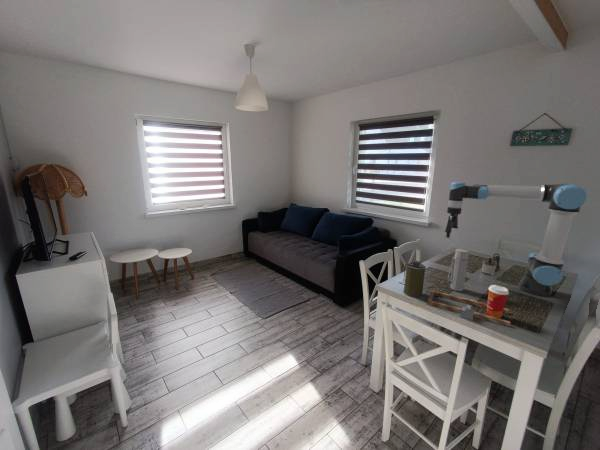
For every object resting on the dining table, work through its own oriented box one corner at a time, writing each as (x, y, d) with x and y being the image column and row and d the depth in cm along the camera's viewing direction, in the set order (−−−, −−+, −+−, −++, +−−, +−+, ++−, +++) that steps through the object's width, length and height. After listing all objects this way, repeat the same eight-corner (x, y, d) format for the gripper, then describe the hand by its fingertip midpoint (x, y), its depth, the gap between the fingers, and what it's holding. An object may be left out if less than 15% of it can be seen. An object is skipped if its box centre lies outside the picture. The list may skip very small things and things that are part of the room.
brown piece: (507, 312, 136) (508, 308, 136) (509, 327, 124) (510, 322, 124) (432, 293, 156) (432, 289, 155) (427, 304, 144) (427, 299, 143)
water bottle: (461, 287, 164) (467, 248, 159) (465, 293, 157) (472, 252, 151) (444, 285, 167) (450, 247, 161) (448, 290, 159) (454, 251, 154)
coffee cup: (484, 309, 139) (489, 282, 136) (504, 314, 134) (509, 287, 131) (482, 316, 133) (487, 288, 129) (503, 322, 128) (509, 293, 124)
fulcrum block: (473, 316, 132) (474, 306, 131) (472, 320, 129) (474, 310, 128) (461, 313, 135) (463, 303, 134) (460, 317, 132) (462, 307, 131)
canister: (423, 291, 158) (427, 260, 153) (421, 299, 149) (425, 265, 144) (404, 287, 163) (407, 256, 158) (401, 294, 154) (404, 262, 150)
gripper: (452, 204, 176) (448, 235, 181) (442, 208, 158) (438, 243, 162) (465, 205, 171) (461, 237, 176) (456, 210, 153) (451, 245, 157)
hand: (450, 240), depth 169 cm, fingers open, 13 cm apart
